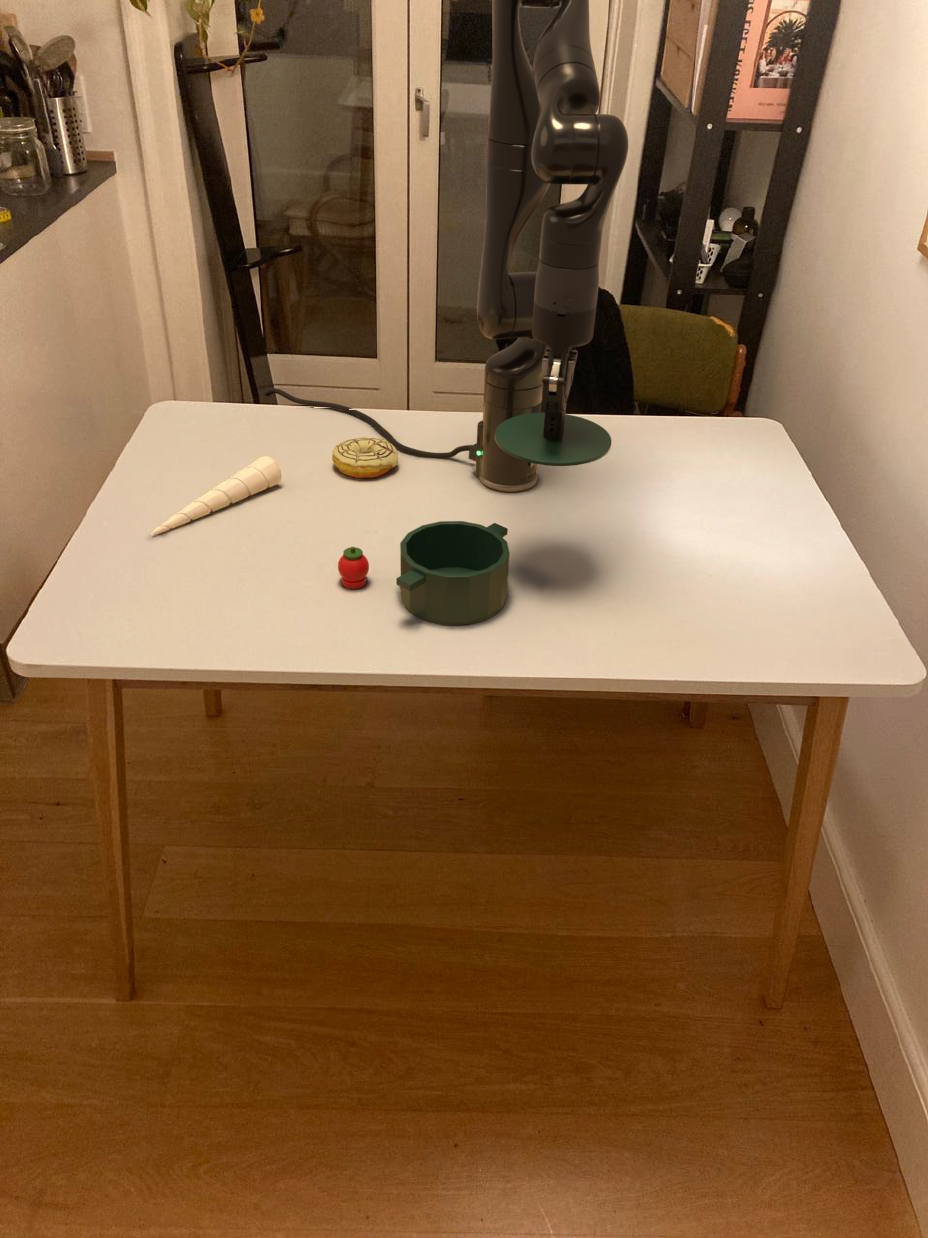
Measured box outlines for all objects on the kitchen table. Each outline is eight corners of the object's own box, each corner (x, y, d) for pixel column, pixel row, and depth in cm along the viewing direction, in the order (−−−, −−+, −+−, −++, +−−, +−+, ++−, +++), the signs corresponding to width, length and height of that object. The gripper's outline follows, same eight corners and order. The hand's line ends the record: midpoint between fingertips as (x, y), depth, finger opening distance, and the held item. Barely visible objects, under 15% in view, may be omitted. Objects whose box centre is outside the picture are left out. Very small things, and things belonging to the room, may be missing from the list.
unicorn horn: (136, 528, 145) (131, 499, 142) (265, 477, 160) (263, 450, 157) (155, 540, 143) (150, 510, 140) (284, 487, 157) (282, 460, 155)
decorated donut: (409, 472, 163) (409, 451, 161) (352, 487, 158) (352, 466, 156) (378, 448, 170) (377, 428, 168) (322, 462, 165) (321, 441, 163)
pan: (364, 604, 131) (363, 556, 126) (460, 549, 143) (462, 503, 139) (444, 648, 123) (445, 598, 119) (538, 585, 136) (542, 539, 131)
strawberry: (332, 582, 135) (330, 547, 132) (354, 571, 137) (353, 536, 134) (353, 594, 133) (352, 559, 129) (375, 582, 135) (375, 547, 132)
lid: (470, 443, 128) (472, 399, 124) (542, 410, 137) (545, 368, 134) (564, 482, 120) (568, 436, 116) (633, 444, 129) (639, 400, 126)
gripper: (542, 279, 124) (532, 408, 134) (525, 314, 113) (516, 452, 123) (601, 285, 123) (587, 414, 133) (591, 321, 111) (576, 459, 122)
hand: (553, 432), depth 128 cm, fingers closed on lid, 2 cm apart
